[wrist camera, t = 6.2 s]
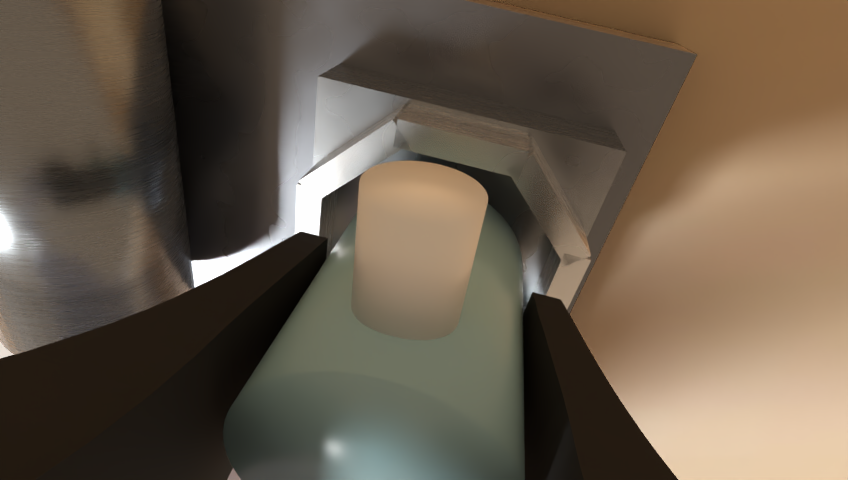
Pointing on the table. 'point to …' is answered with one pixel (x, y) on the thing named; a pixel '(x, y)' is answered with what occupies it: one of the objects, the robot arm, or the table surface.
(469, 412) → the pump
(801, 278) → the table surface
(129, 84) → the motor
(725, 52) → the table surface
